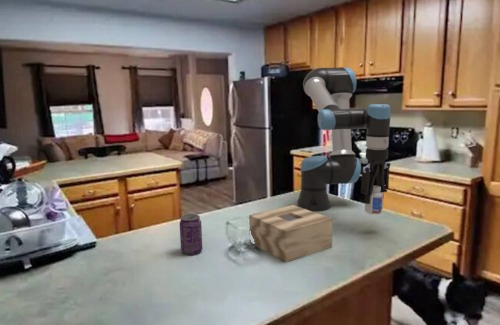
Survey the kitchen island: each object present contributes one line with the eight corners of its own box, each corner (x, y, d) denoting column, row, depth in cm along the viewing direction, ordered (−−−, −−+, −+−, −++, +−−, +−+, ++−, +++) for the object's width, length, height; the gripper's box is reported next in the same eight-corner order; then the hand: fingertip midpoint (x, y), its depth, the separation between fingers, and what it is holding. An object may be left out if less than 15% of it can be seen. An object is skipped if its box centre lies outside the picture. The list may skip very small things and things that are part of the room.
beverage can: (194, 245, 125) (192, 212, 123) (206, 251, 120) (205, 216, 118) (176, 251, 120) (174, 217, 118) (189, 257, 115) (187, 222, 113)
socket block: (249, 242, 127) (249, 214, 126) (293, 230, 138) (293, 204, 136) (286, 262, 111) (286, 231, 109) (331, 246, 122) (332, 218, 120)
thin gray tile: (278, 222, 124) (278, 219, 124) (291, 219, 127) (291, 215, 127) (289, 226, 119) (289, 223, 119) (302, 223, 122) (302, 220, 122)
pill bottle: (382, 215, 130) (384, 189, 128) (366, 214, 131) (368, 188, 129) (380, 210, 135) (381, 185, 133) (365, 209, 136) (366, 184, 134)
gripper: (369, 152, 120) (365, 218, 125) (402, 146, 131) (397, 207, 135) (351, 149, 127) (348, 212, 131) (384, 144, 137) (380, 203, 141)
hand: (373, 210), depth 133 cm, fingers closed on pill bottle, 5 cm apart
